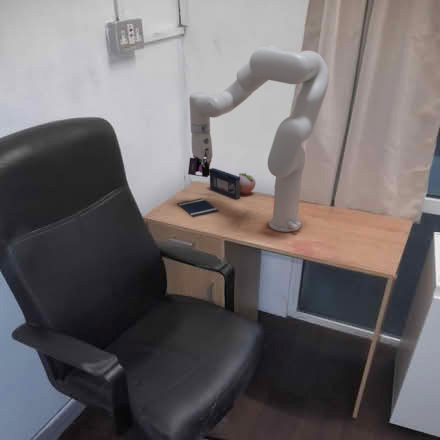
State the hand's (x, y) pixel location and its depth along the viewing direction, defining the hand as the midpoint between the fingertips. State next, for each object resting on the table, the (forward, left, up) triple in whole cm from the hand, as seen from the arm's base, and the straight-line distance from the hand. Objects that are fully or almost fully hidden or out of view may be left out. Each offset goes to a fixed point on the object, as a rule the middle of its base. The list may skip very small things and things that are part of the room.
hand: (202, 173), depth 172 cm
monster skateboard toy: (+1, 0, -1) cm, 2 cm away
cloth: (+2, +2, -15) cm, 16 cm away
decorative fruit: (+5, -24, -16) cm, 29 cm away
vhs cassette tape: (+10, -16, -16) cm, 25 cm away
